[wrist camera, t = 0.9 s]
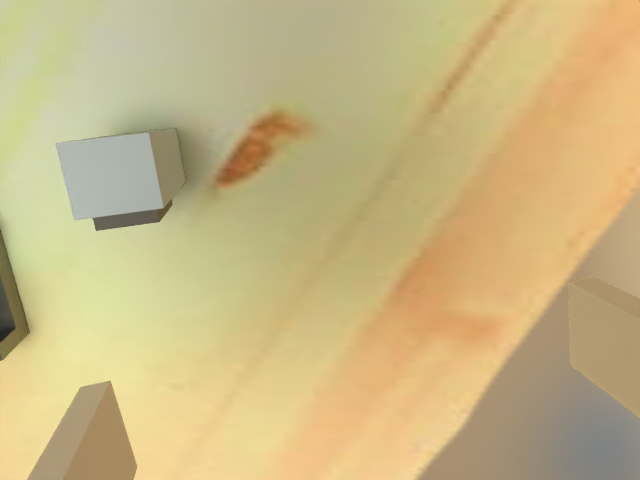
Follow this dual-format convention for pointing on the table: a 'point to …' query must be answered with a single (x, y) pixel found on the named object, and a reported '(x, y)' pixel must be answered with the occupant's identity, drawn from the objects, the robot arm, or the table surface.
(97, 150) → the block
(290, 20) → the table surface
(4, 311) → the rail
